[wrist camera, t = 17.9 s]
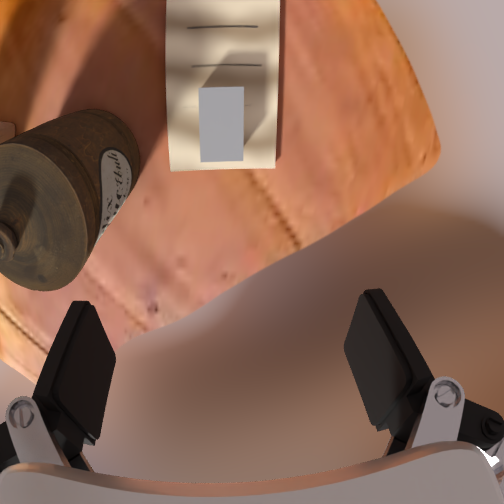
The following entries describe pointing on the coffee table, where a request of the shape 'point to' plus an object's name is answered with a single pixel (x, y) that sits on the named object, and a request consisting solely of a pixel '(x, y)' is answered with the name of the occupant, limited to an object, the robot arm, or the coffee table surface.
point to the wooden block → (6, 131)
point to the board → (222, 74)
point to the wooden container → (62, 194)
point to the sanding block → (221, 123)
